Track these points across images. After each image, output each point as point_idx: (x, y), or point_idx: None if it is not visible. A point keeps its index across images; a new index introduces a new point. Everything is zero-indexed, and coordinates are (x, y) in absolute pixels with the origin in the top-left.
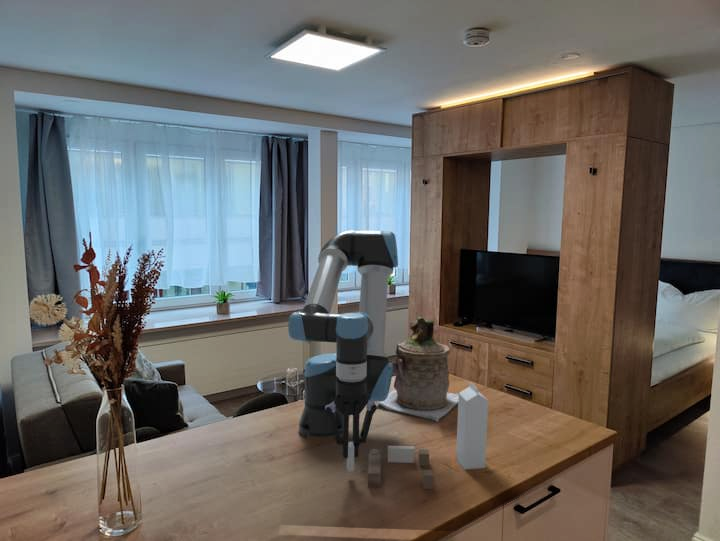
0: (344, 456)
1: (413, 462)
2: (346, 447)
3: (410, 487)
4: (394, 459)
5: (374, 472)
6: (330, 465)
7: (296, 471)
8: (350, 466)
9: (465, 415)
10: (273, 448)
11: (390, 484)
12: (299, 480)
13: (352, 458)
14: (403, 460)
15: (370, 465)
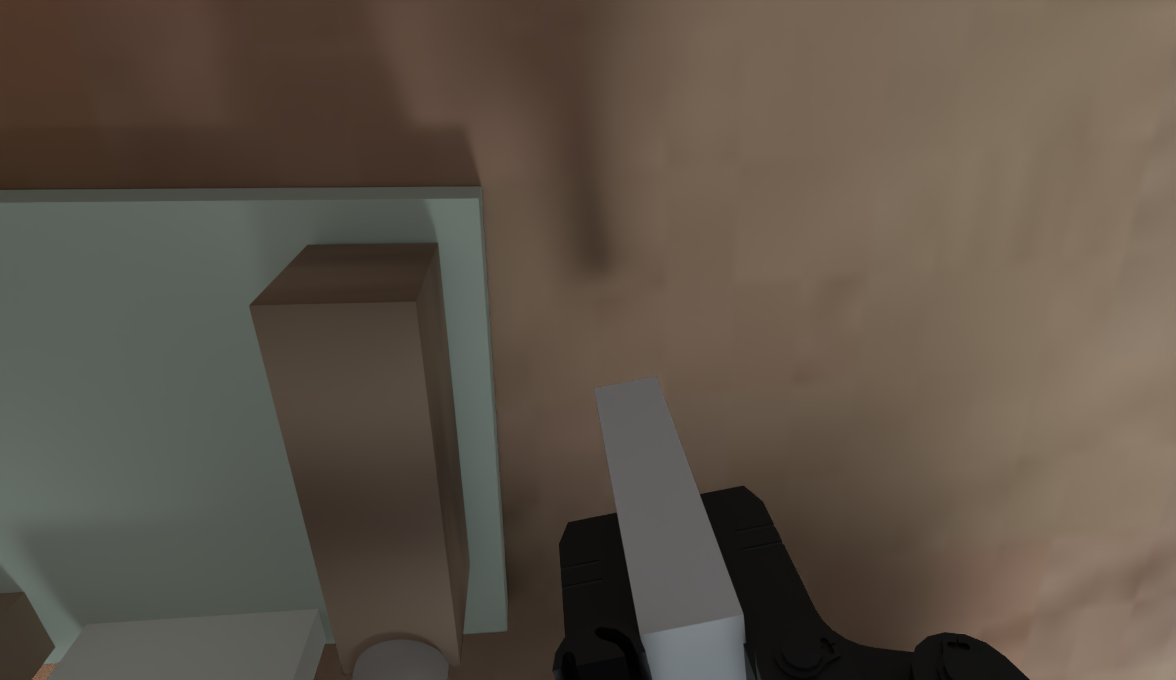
0: (745, 502)
1: (88, 630)
2: (761, 615)
3: None
4: (249, 637)
5: (338, 331)
6: None
7: (1014, 459)
8: (641, 417)
9: None
10: (1107, 663)
11: None
12: (1015, 355)
13: (635, 486)
14: (170, 637)
15: (412, 463)
